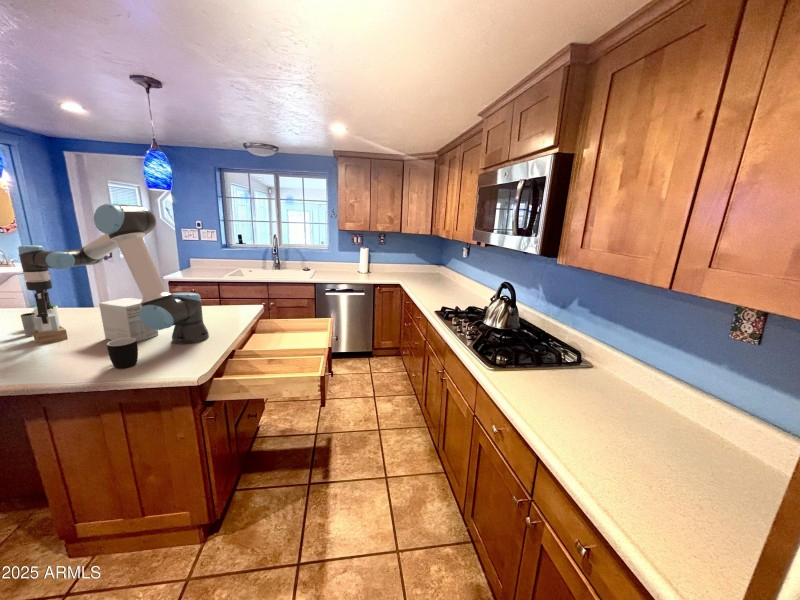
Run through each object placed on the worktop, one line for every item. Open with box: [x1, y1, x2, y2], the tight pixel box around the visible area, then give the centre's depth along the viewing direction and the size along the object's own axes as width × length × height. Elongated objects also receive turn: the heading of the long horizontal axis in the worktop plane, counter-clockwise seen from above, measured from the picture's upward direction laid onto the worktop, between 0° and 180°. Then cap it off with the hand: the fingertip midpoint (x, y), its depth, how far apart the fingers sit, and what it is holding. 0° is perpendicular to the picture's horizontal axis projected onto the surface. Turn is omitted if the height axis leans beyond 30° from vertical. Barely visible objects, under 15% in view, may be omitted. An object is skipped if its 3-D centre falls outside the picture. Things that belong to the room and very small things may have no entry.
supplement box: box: [98, 297, 159, 343], centre depth 152 cm, size 17×13×18 cm
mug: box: [106, 338, 139, 370], centre depth 125 cm, size 12×9×10 cm
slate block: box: [35, 313, 59, 333], centre depth 145 cm, size 6×6×7 cm
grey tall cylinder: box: [20, 312, 38, 337], centre depth 150 cm, size 4×4×10 cm
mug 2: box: [28, 304, 62, 326], centre depth 160 cm, size 12×8×10 cm
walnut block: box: [32, 325, 69, 346], centre depth 146 cm, size 9×9×5 cm
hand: (48, 326), depth 145 cm, fingers open, 12 cm apart
